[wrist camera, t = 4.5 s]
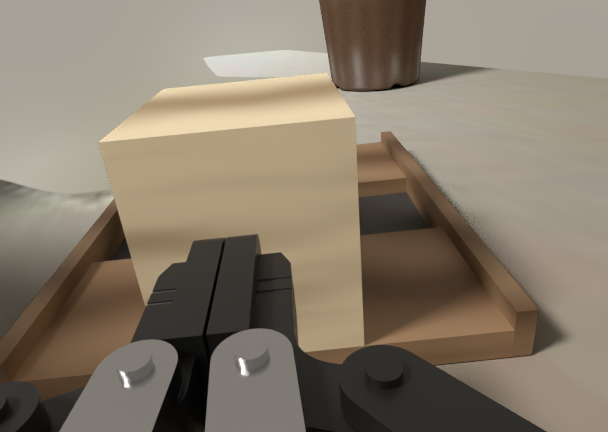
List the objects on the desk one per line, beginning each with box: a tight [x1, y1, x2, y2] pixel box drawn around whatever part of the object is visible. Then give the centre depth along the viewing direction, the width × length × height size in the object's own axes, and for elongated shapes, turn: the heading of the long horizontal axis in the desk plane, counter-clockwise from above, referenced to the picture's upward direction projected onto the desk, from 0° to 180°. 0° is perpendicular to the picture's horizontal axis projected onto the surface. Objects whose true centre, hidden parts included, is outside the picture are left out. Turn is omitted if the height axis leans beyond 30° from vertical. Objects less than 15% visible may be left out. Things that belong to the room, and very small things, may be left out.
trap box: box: [0, 131, 539, 401], centre depth 27 cm, size 23×19×2 cm
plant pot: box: [319, 0, 426, 91], centre depth 63 cm, size 16×16×16 cm
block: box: [99, 73, 364, 352], centre depth 18 cm, size 8×7×8 cm
